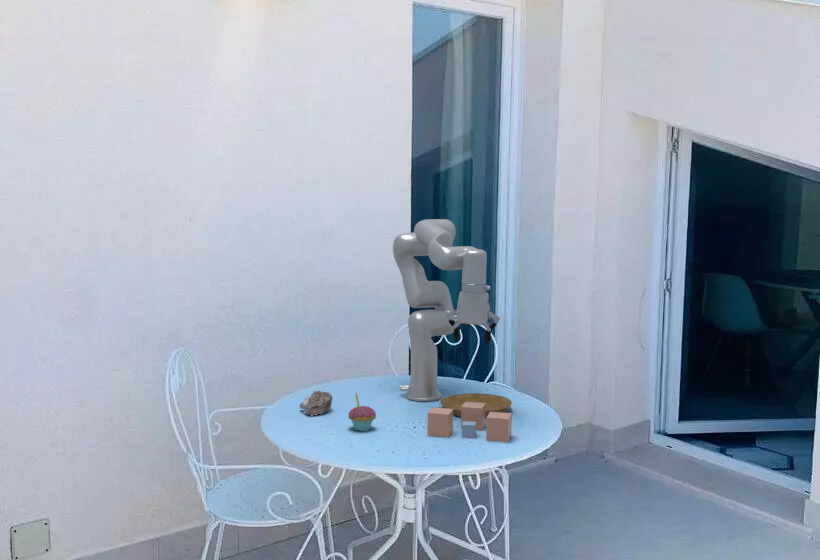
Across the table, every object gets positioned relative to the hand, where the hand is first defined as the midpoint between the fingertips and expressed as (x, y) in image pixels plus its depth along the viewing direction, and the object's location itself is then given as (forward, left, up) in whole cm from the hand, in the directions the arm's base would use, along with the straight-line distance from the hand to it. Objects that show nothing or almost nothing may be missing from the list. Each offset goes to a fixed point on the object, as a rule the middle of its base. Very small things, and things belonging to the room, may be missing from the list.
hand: (472, 341), depth 251 cm
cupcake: (-31, -17, -26) cm, 44 cm away
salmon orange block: (+11, -15, -26) cm, 32 cm away
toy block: (+2, -6, -26) cm, 27 cm away
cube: (+2, -15, -26) cm, 30 cm away
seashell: (-53, -2, -26) cm, 59 cm away
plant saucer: (-1, +14, -27) cm, 30 cm away
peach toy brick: (-7, -15, -26) cm, 31 cm away
